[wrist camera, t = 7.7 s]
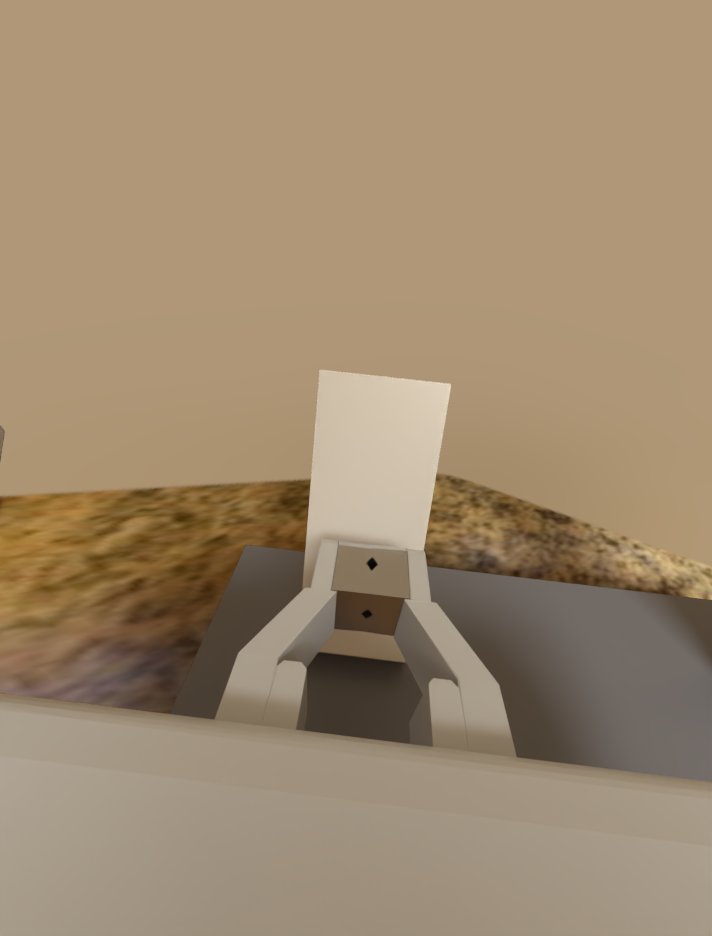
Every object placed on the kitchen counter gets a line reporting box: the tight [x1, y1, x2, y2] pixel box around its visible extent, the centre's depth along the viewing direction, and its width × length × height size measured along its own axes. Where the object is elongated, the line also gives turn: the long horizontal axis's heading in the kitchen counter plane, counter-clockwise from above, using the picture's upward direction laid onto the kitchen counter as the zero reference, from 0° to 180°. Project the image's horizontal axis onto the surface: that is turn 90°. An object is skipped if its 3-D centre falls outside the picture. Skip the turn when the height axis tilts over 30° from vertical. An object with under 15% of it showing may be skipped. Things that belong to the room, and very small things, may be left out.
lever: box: [302, 370, 451, 663], centre depth 12 cm, size 2×4×11 cm, turn 85°
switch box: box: [169, 545, 712, 781], centre depth 15 cm, size 9×30×5 cm, turn 85°
